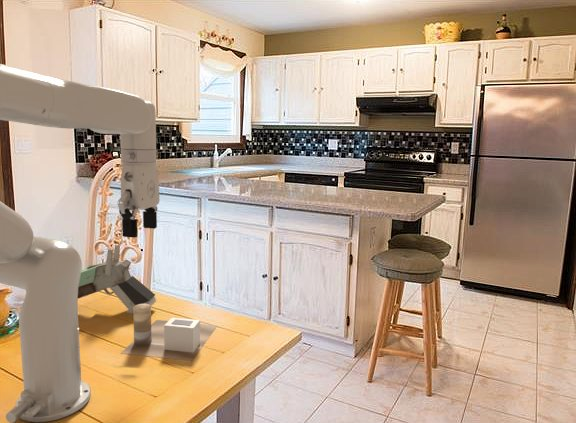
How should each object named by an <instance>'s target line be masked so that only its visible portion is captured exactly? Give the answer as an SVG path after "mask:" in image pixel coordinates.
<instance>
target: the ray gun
mask: <svg viewBox="0 0 576 423" xmlns="http://www.w3.org/2000/svg"><path fill="white" fill-rule="evenodd" d="M120 247H121V246H120V245H117V244H116V245H114V250H113V249H109V248H108V249H107V254H106V261H103V262H101V263H98V264H92V265H89V266H88V267H86V268H84V269H82V270H81V276H80V282H79V288H78V299H81V298H84V297H87V296H89V295H93V294H95V293H98V292H101V291H104V292H105V294H107V295H109V296H110V295H112V294H114V295H115V296H116V297H117V298H118V300H120V302H121V303H122V304H123V305H124V306H125V307H126V309H127V311H126V314H133V307H134V306H135V305H138V304H149V305H151V307H153V305H154V304H155V303H156V302H157V301H158V300H157V299H156V294H155V293H154V292H153V291H152V290H150V289H149V288H148V287H146V285H144V284H143V283H142V282H141V281H139V280H138V279H137V278H136V277H135V276H134V275H131V273H130V271H129V268H130V266H131V264H132V261H130V260H128V259H125V260H123V261H120V249H121V248H120ZM108 289H110V290H111V291H109V290H108Z"/></svg>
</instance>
